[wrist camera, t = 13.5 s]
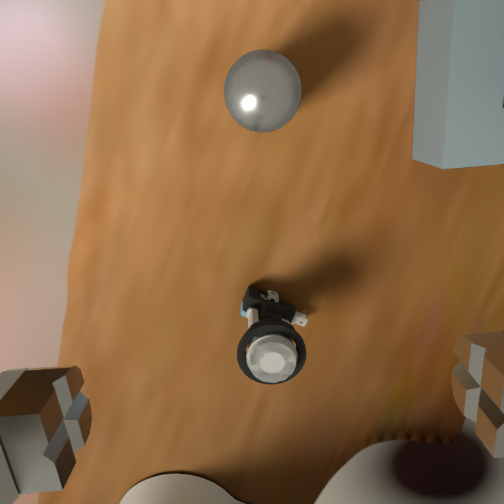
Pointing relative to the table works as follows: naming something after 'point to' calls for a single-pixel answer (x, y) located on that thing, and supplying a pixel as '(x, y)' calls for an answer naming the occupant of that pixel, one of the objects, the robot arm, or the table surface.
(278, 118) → the round bit
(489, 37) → the socket block
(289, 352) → the push button
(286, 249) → the table surface
